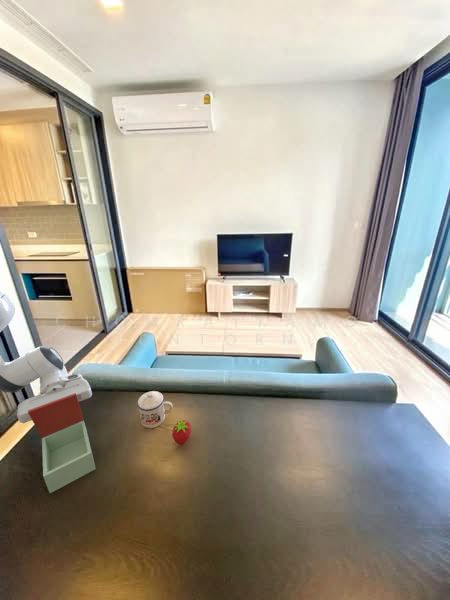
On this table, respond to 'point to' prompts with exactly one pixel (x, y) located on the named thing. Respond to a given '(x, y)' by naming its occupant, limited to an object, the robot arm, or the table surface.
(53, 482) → the box
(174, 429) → the strawberry
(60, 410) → the lid
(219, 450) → the table surface
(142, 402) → the teacup with lid
